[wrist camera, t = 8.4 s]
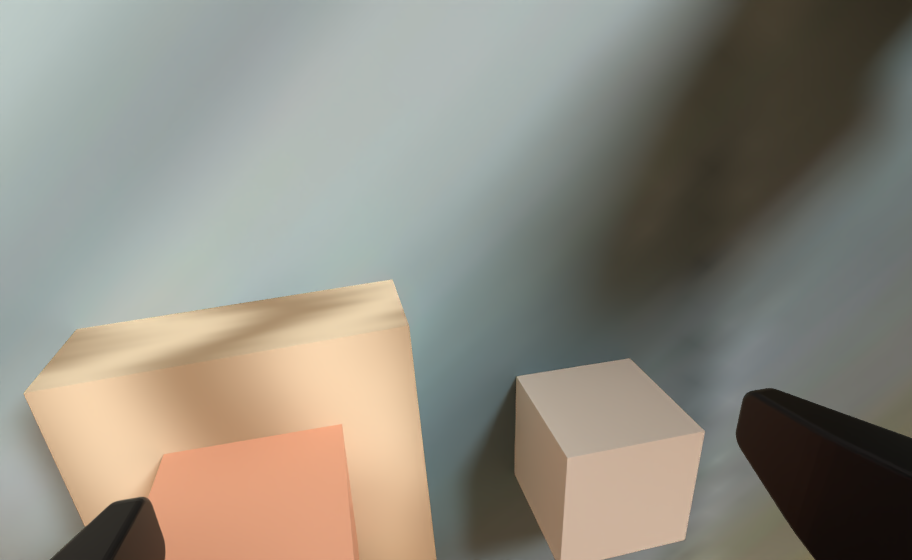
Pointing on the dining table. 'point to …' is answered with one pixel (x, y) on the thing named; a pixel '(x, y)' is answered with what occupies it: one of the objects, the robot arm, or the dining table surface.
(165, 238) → the dining table surface
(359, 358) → the birch base block
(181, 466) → the terracotta cube
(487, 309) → the dining table surface
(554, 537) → the beige cube
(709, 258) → the dining table surface
